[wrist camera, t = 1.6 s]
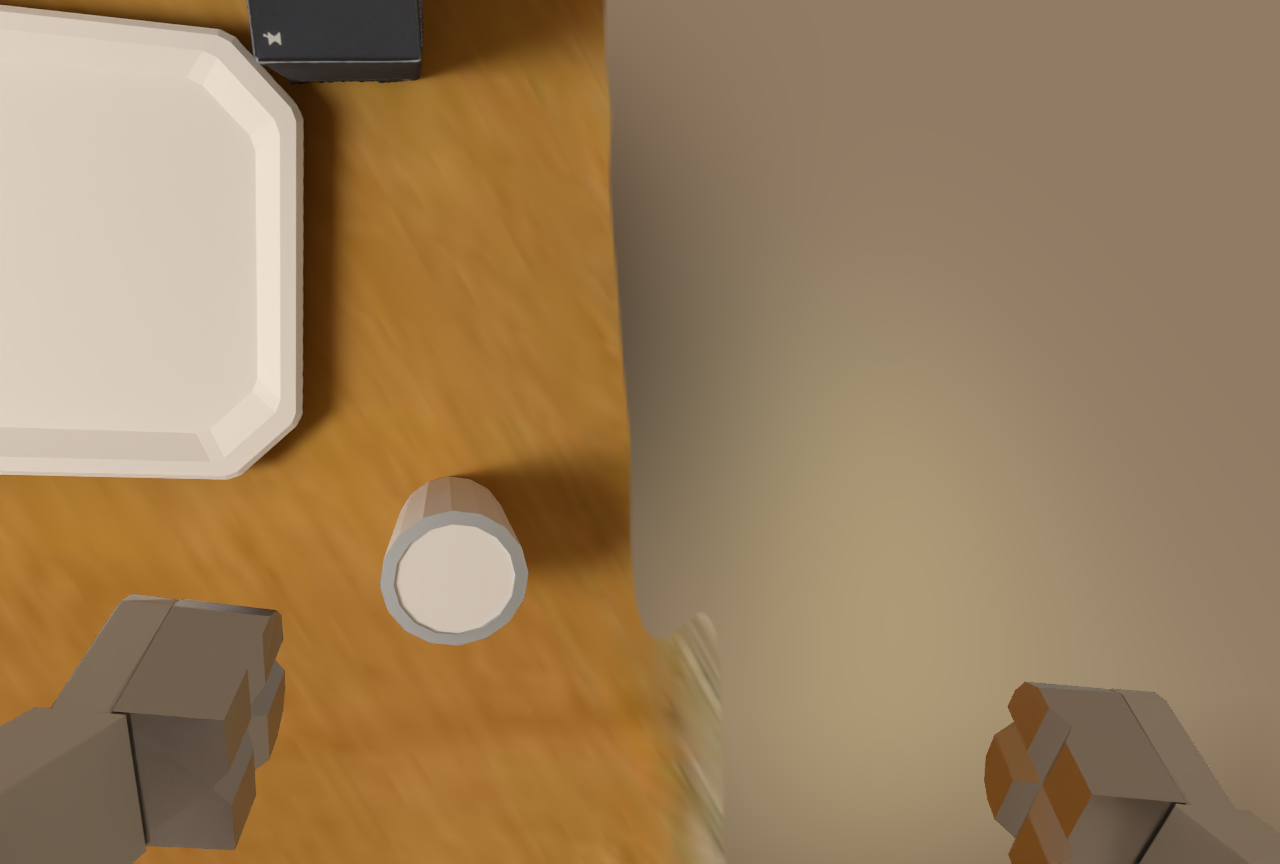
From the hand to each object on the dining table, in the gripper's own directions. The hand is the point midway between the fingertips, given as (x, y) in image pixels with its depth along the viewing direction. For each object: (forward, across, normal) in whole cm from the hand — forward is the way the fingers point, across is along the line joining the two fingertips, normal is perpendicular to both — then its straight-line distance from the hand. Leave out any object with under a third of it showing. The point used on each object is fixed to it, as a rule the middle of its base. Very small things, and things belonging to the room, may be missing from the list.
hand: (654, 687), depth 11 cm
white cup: (+36, -6, -25) cm, 44 cm away
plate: (+37, -24, -12) cm, 46 cm away
